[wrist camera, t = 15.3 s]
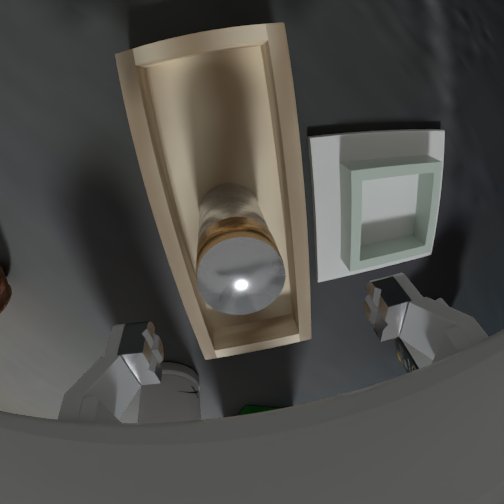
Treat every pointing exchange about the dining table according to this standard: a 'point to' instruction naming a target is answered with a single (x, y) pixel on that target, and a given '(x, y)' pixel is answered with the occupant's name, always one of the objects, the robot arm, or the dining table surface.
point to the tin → (4, 290)
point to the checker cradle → (374, 198)
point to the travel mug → (171, 396)
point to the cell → (236, 253)
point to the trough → (222, 164)
